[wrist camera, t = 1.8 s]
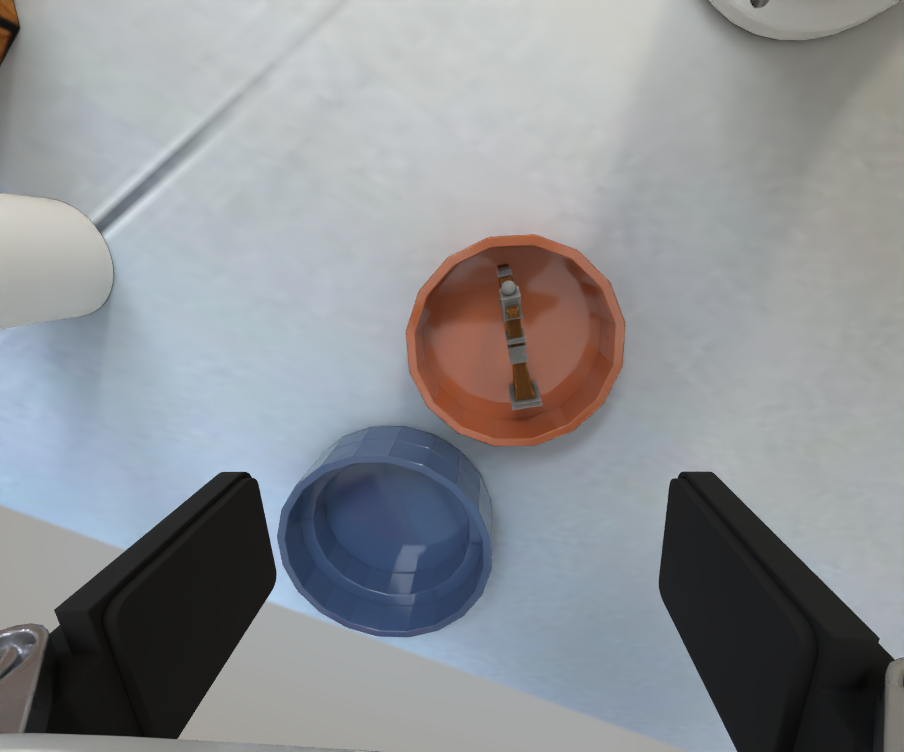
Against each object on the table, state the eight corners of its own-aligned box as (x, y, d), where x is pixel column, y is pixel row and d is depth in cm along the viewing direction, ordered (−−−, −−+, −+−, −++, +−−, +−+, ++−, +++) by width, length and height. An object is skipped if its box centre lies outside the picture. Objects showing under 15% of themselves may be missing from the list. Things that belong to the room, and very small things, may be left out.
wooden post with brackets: (516, 245, 23) (529, 286, 19) (531, 359, 28) (543, 407, 24) (483, 253, 23) (490, 294, 19) (504, 364, 28) (512, 412, 24)
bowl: (488, 421, 27) (487, 454, 23) (493, 585, 31) (494, 640, 26) (294, 425, 28) (259, 456, 24) (322, 582, 32) (296, 634, 28)
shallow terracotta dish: (613, 231, 23) (631, 228, 20) (603, 422, 26) (618, 445, 23) (409, 243, 24) (397, 242, 21) (423, 425, 27) (415, 447, 24)
